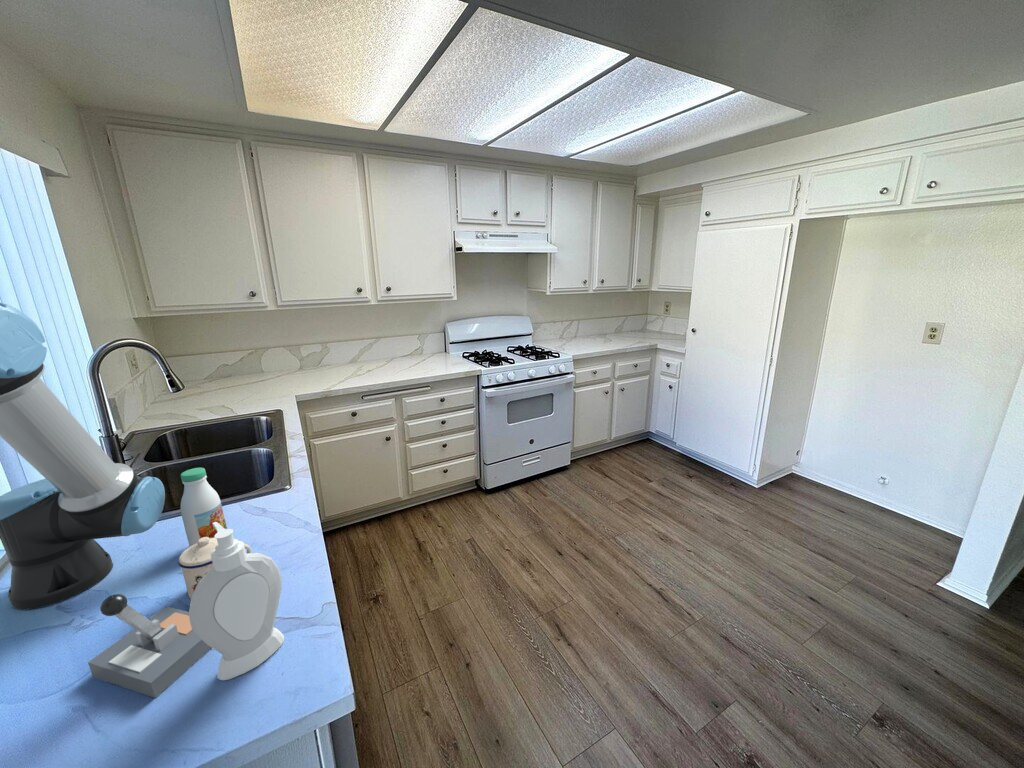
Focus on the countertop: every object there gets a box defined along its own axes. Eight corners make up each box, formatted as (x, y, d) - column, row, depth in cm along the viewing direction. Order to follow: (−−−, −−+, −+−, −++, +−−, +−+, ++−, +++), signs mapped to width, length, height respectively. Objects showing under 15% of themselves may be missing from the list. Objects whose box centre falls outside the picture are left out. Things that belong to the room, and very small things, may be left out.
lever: (159, 649, 68) (104, 612, 61) (146, 645, 69) (90, 608, 61) (175, 630, 71) (123, 592, 63) (162, 627, 71) (110, 588, 64)
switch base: (155, 698, 63) (146, 670, 62) (93, 676, 67) (83, 650, 65) (226, 634, 74) (220, 609, 73) (169, 619, 78) (163, 595, 76)
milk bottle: (188, 560, 94) (168, 482, 89) (193, 542, 101) (174, 469, 96) (228, 548, 98) (211, 473, 93) (230, 532, 105) (214, 461, 100)
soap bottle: (280, 618, 77) (257, 504, 71) (298, 640, 72) (275, 519, 66) (198, 667, 68) (163, 540, 62) (212, 697, 63) (176, 562, 57)
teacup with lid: (191, 611, 80) (177, 560, 77) (184, 587, 86) (171, 539, 83) (260, 579, 88) (250, 532, 85) (249, 560, 94) (240, 515, 91)
